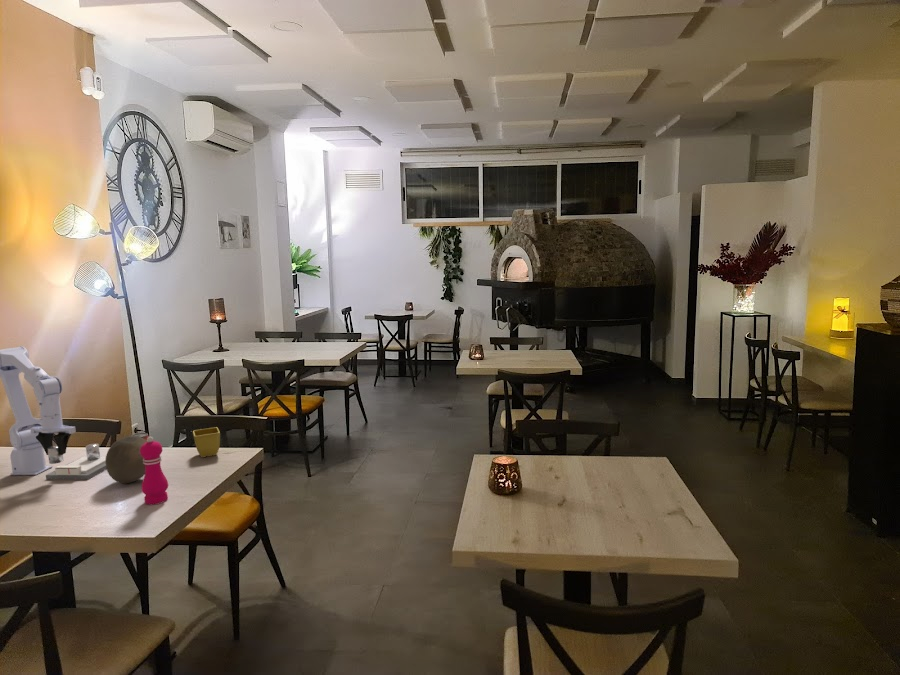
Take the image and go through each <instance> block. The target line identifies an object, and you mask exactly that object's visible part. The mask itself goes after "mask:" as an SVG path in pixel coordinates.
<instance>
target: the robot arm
mask: <svg viewBox="0 0 900 675" xmlns="http://www.w3.org/2000/svg"><path fill="white" fill-rule="evenodd" d="M21 373H23V379H25V381H26V382H27V383H28V384H29V385H30V386H31V387H32V389H33V393H34V395H35V398H36V402H37V403H38V406H39V412H40V419H39V418H36V417H34V416H33V414H32V412H31V408H30V406H29V402H28V400H27V396H26V394H25V391H24V388H23V385H22V382H21V379H20V374H21ZM0 380H1V382H2V385H3V388H4V390H5V395H6V397H7V400H8V403H9V405H10V409H11V411H12V415H13V418H14V421H15V422H14V423H13V424H12V425H11V426H10V428H9V430H8V433H9V441H10V444H11V446H12V447H13V449H12V450H11V452H10V463H11V464H10V465H11V471H12V472H11V473H10V475H11V476H15V475H16V476H17V475H18V476H20V475H21V476H30V475H31V476H36V475H39V474H41V473H42V472H44V471H47V470H49V469H52V467H53V465H47V464H46V456H48V449H47V448H49V447H51V446H54V444H53V442H54V441H53V440H55V442H56V446H58V452H59V455H63V456H64V454H66V453H67V447H68V443H69V440H70V437H71V436H72V434H74V433H76V431H77V429H76V426H72V425H71V426H69V425H65V424H63V423H64V422H63V416H62V414H63V413H62V407H61V399H60V394H61V393H63V392H62V391H63V385H62V382H61V380H60V379H59V378H58V376H50V375H49V374H48V373H47V372H46V371H45V370H44V369H43V368H42V367H40V366H35V364H33V362H32V361H31V360H30V354H29V351H28V349H27V348H26V347H25V346H23V345H21V346H16V347H9V348H3V349H0ZM54 434H55V435H54ZM45 455H46V456H45Z"/></svg>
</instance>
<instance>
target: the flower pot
mask: <svg viewBox="0 0 900 675" xmlns="http://www.w3.org/2000/svg"><path fill="white" fill-rule="evenodd" d="M192 435H193V439H194V444H195V447H196V450H197V453H198V455H199V456H200V457H201V458H205V457H206V456H207V457H212V455H213V456H216V455H217V454H218V452H219V449H220V445H221V432H220V430H219V428H218V427H217V426H216V427H215V426H214V427H209V428H203V429H202V428H201V429H195V430H193V431H192Z"/></svg>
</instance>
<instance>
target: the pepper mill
mask: <svg viewBox="0 0 900 675" xmlns="http://www.w3.org/2000/svg"><path fill="white" fill-rule="evenodd" d="M162 453H163V446H162V444H161V443H160V442H159V441H157V440H154V437H153V436H149V437H148V438H147V442H146V443H144V444H143V445H142V446H141V448H140V454H141V456H142V457H143V464H145V475H144V476H143V477H144V478H143V479H142V482H141V492H142V493H143V494H144V495H145V496H144V497H143V499H144V504H146V505H150V504H152V505H159V504H161V502H162V503H164V502H166V501H167V500H168V497H169V496H168V492H167V491H166V490H168V487H169V483H168V482H169V481H168V480H167V479H168V478H167V477H166V476H165V473H164V472H163V470H162V467H161V462H162V456H161V454H162ZM163 501H164V502H163ZM158 503H159V504H158Z"/></svg>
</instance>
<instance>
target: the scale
mask: <svg viewBox="0 0 900 675" xmlns="http://www.w3.org/2000/svg"><path fill="white" fill-rule="evenodd" d="M105 460H106V456H100V459H97V460H93V461H88V460H87V456H82V457H79V458H77V459H75V460H73V461H71V462H69V463H67V464H65V465H57V466H55V467H54V470H53V471H51V472H50V473H49V472H48V473H47V474H45V479H46V480H90V479H92V478H93V477H95V475H96V476H97V475H99V474H101V473H103V472H105V471H107V468H106V461H105ZM102 471H103V472H102ZM100 472H101V473H100Z"/></svg>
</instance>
